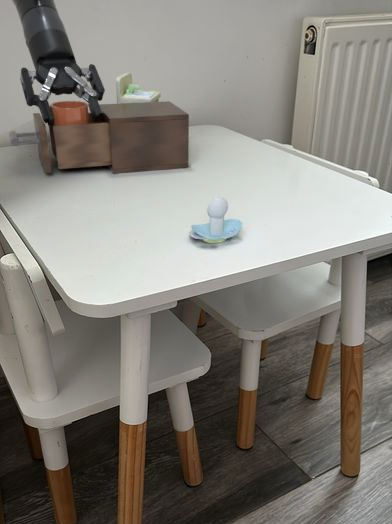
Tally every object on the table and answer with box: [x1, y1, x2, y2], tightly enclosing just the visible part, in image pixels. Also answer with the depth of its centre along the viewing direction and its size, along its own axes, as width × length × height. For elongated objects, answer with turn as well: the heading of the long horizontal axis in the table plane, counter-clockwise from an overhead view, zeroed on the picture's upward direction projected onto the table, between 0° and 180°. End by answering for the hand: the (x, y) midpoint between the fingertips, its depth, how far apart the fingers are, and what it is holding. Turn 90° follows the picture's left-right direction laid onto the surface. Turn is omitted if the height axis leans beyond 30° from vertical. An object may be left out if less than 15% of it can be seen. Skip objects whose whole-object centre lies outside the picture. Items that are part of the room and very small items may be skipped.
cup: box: [49, 100, 89, 157], centre depth 102 cm, size 7×7×9 cm
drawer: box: [8, 112, 112, 174], centre depth 103 cm, size 18×11×8 cm, turn 108°
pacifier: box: [188, 196, 243, 244], centre depth 77 cm, size 7×6×6 cm
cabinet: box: [99, 100, 190, 174], centre depth 107 cm, size 15×13×10 cm
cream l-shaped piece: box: [115, 72, 162, 104], centre depth 119 cm, size 8×7×13 cm
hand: (74, 121), depth 100 cm, fingers open, 8 cm apart
